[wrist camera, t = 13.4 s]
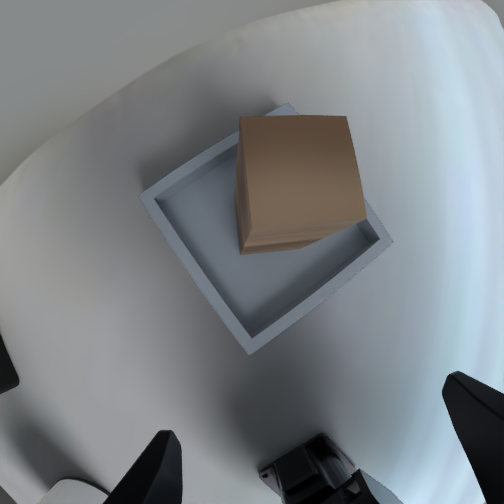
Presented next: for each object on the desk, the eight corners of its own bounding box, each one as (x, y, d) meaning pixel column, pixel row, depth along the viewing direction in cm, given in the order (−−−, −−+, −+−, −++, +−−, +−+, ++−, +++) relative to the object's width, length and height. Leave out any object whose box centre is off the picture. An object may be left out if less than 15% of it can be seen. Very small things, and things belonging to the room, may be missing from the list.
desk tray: (378, 245, 23) (393, 241, 20) (246, 347, 21) (248, 355, 19) (282, 118, 23) (288, 102, 21) (146, 205, 22) (137, 196, 19)
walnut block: (299, 249, 22) (367, 218, 11) (240, 254, 21) (252, 227, 10) (292, 191, 22) (345, 116, 11) (234, 195, 22) (240, 116, 11)
